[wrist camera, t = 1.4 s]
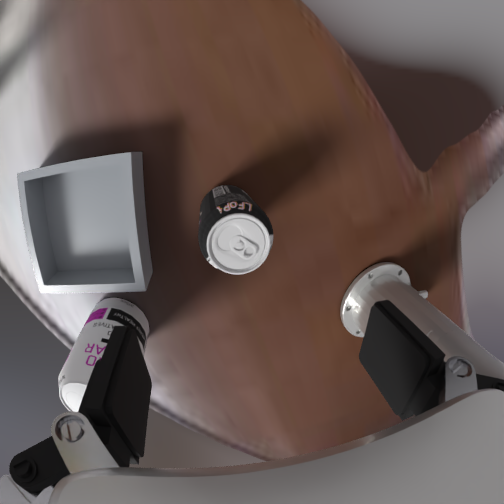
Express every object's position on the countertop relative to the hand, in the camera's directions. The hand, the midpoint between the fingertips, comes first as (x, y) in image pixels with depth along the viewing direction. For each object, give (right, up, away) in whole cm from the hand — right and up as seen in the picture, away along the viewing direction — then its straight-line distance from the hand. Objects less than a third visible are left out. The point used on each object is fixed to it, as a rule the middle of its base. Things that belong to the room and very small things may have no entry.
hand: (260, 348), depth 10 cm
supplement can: (-18, -6, +23) cm, 30 cm away
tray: (-19, +7, +18) cm, 27 cm away
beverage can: (-3, +8, +21) cm, 23 cm away
